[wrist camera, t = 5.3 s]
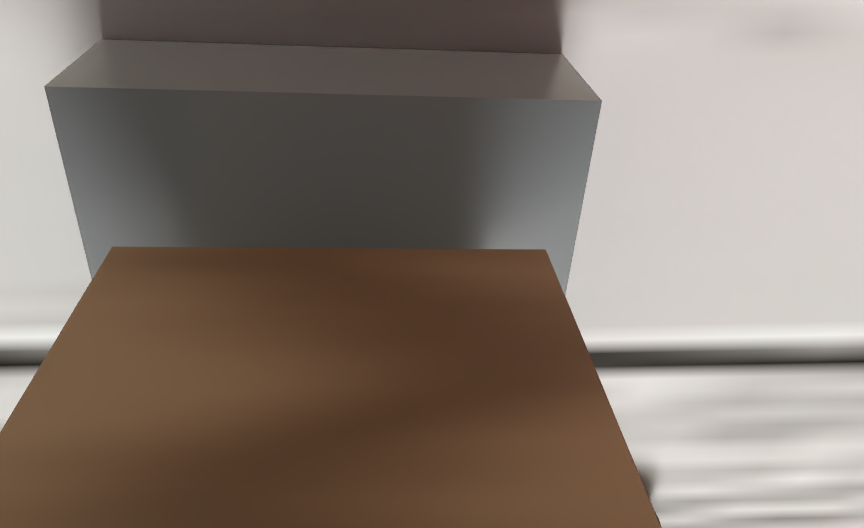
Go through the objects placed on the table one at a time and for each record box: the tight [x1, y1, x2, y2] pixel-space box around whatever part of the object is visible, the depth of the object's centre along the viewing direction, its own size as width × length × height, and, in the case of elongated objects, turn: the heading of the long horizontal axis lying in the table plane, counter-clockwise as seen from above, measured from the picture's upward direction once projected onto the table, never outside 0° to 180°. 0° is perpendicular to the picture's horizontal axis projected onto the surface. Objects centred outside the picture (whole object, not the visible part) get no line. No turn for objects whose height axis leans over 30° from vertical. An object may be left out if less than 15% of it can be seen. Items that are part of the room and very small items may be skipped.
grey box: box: [44, 39, 602, 295], centre depth 13 cm, size 8×8×2 cm
